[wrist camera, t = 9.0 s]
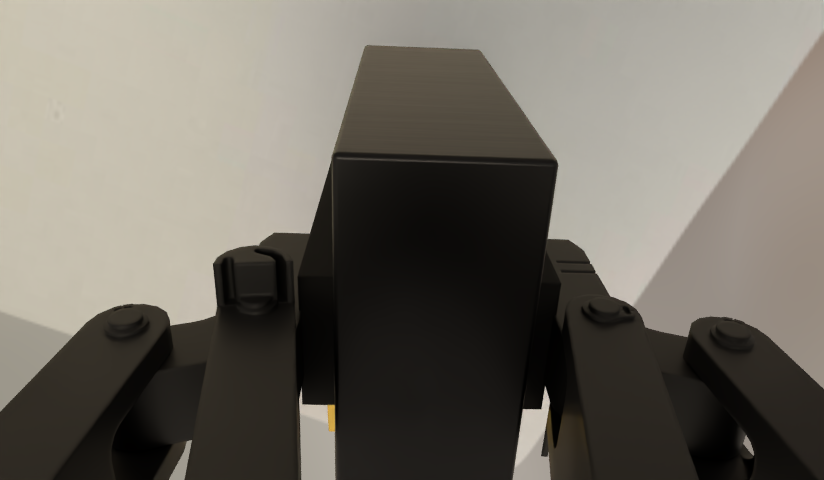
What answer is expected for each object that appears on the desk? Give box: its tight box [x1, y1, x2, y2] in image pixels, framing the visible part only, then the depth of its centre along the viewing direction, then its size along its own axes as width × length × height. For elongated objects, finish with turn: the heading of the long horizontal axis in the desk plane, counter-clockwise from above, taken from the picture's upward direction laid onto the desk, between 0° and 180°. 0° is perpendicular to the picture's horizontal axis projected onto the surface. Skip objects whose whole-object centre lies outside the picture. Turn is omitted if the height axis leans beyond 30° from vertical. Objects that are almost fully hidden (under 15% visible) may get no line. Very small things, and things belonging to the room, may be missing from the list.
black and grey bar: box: [332, 45, 558, 480], centre depth 16 cm, size 18×3×9 cm, turn 178°
